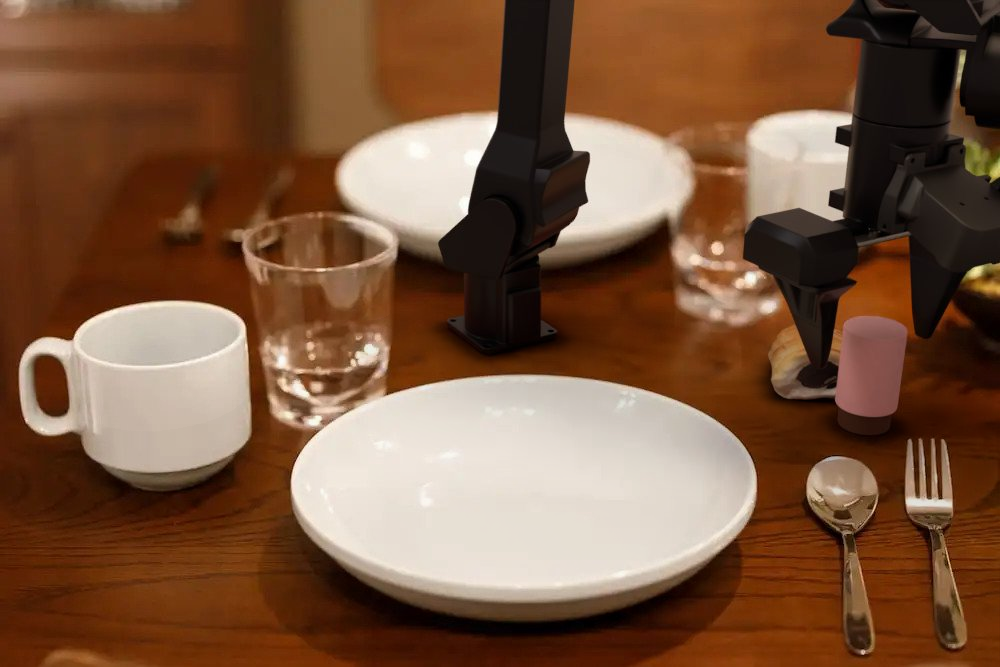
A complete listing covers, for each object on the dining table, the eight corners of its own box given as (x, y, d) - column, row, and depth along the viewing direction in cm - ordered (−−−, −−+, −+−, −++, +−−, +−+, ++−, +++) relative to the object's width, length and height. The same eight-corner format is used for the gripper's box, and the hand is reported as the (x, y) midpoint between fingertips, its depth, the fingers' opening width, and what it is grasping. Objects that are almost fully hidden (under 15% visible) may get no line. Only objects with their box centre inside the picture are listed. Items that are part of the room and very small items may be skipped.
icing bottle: (820, 418, 88) (830, 323, 85) (864, 405, 89) (876, 311, 87) (862, 443, 84) (875, 345, 82) (907, 428, 86) (921, 332, 83)
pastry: (762, 345, 98) (767, 298, 97) (854, 350, 98) (860, 303, 96) (770, 401, 90) (775, 350, 88) (870, 407, 89) (877, 356, 88)
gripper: (885, 172, 68) (852, 436, 74) (1119, 125, 76) (1072, 366, 83) (747, 124, 77) (728, 364, 83) (970, 87, 85) (937, 307, 92)
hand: (871, 351), depth 85 cm, fingers open, 9 cm apart
